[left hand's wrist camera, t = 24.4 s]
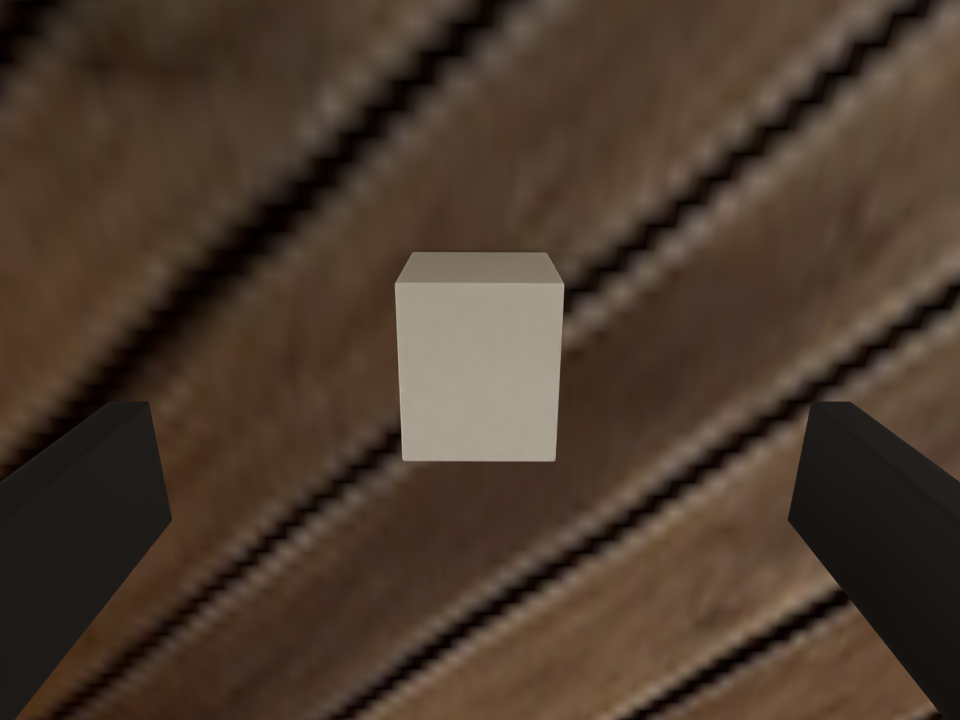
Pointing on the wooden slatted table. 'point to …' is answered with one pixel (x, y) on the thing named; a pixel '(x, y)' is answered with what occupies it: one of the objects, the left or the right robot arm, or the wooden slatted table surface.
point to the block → (479, 356)
